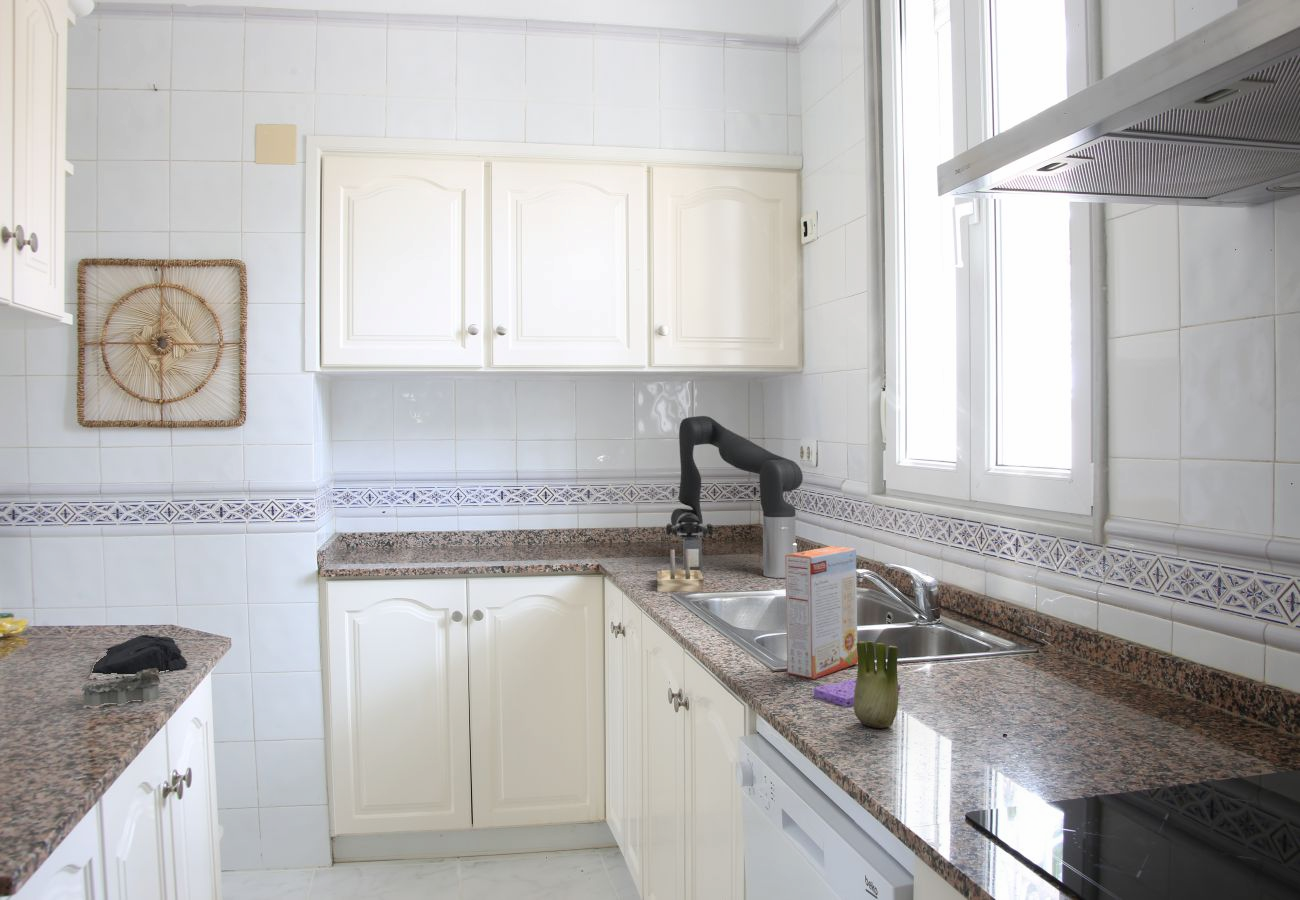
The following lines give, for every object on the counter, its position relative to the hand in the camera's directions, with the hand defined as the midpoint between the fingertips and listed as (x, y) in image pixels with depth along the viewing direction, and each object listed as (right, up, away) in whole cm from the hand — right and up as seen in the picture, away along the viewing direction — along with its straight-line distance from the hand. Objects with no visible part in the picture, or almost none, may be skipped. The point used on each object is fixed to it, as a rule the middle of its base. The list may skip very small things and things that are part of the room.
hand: (690, 532), depth 267 cm
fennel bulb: (+20, -15, -140) cm, 143 cm away
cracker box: (+18, -14, -110) cm, 113 cm away
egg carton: (-96, -15, -126) cm, 158 cm away
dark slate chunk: (-106, -15, -102) cm, 148 cm away
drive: (0, -12, -11) cm, 16 cm away
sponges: (+21, -15, -125) cm, 128 cm away
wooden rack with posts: (-4, -12, -26) cm, 29 cm away
